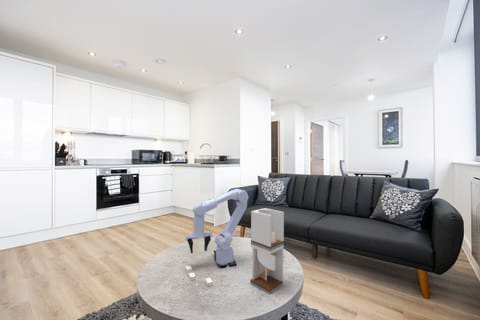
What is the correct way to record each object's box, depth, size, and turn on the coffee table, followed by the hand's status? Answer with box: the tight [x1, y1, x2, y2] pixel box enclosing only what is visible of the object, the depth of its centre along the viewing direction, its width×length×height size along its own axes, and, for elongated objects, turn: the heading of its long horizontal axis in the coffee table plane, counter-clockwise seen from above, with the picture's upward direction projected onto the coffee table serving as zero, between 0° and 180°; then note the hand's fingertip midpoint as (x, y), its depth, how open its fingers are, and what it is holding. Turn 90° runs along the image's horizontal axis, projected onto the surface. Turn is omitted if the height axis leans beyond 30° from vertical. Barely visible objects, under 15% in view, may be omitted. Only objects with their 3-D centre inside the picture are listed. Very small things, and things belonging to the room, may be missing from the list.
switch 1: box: [184, 265, 193, 274], centre depth 114 cm, size 2×4×2 cm, turn 25°
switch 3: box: [204, 277, 214, 288], centre depth 103 cm, size 2×4×2 cm, turn 25°
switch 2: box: [188, 271, 196, 282], centre depth 107 cm, size 2×4×2 cm, turn 25°
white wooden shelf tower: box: [249, 207, 285, 295], centre depth 106 cm, size 11×11×35 cm
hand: (198, 251), depth 120 cm, fingers open, 7 cm apart
